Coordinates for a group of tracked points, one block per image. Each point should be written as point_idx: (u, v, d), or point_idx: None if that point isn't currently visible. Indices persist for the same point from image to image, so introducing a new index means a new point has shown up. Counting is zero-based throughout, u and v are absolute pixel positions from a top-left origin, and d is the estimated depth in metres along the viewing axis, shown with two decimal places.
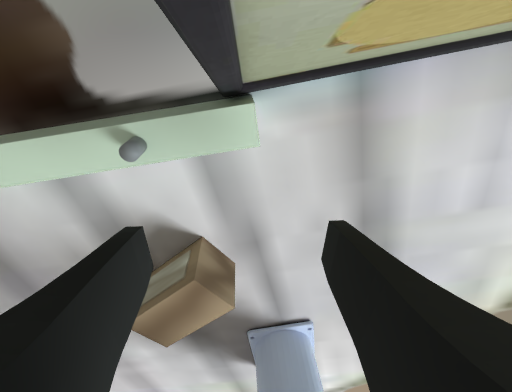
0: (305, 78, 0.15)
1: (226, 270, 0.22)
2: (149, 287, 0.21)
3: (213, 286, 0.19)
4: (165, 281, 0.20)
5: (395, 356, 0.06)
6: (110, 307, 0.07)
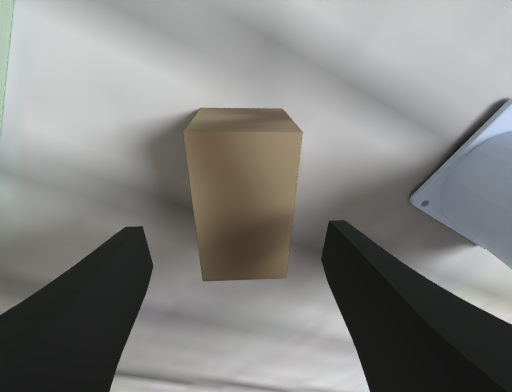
0: None
1: (264, 114, 0.12)
2: None
3: (235, 128, 0.10)
4: None
5: (395, 356, 0.06)
6: (110, 307, 0.07)
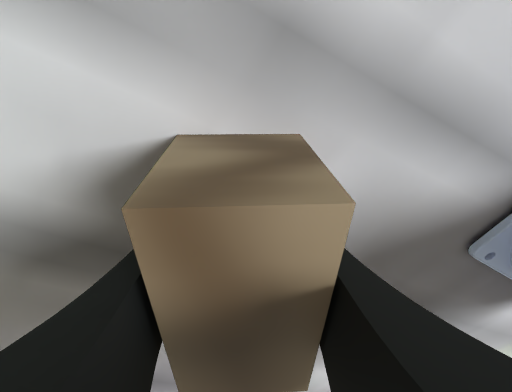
0: None
1: (275, 150, 0.07)
2: None
3: (227, 190, 0.05)
4: None
5: (349, 359, 0.06)
6: None
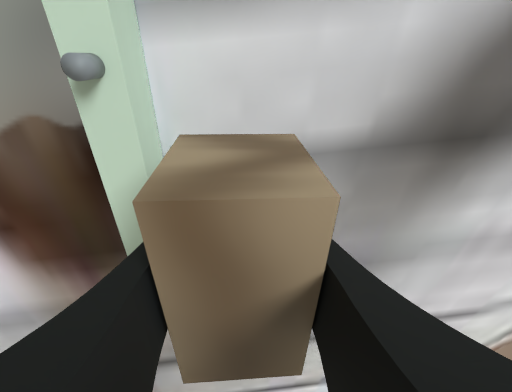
0: None
1: (270, 149, 0.08)
2: None
3: (226, 186, 0.06)
4: None
5: (346, 360, 0.06)
6: (153, 305, 0.07)
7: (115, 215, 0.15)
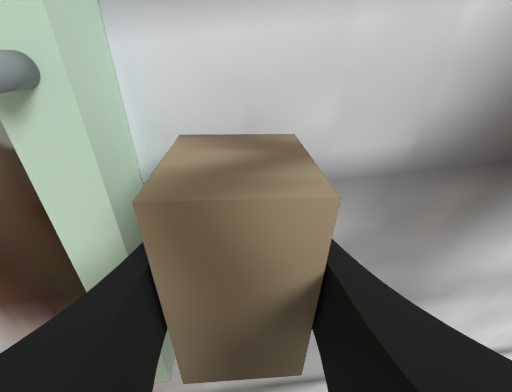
0: None
1: (270, 149, 0.08)
2: None
3: (226, 186, 0.06)
4: None
5: (346, 359, 0.06)
6: (153, 305, 0.07)
7: (76, 266, 0.11)
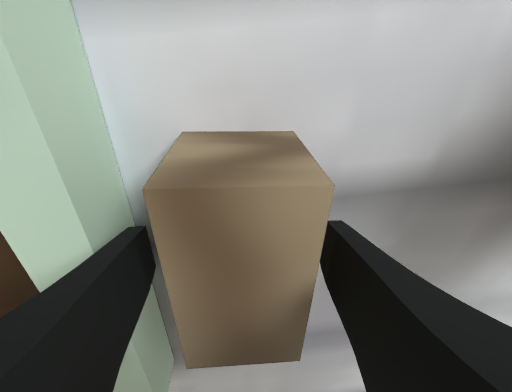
0: None
1: (270, 144, 0.08)
2: None
3: (228, 176, 0.06)
4: None
5: (391, 356, 0.06)
6: (114, 307, 0.07)
7: None
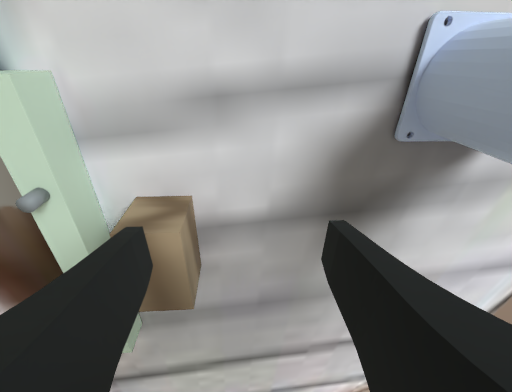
0: None
1: (172, 207, 0.19)
2: None
3: (143, 227, 0.16)
4: None
5: (395, 356, 0.06)
6: (110, 307, 0.07)
7: None
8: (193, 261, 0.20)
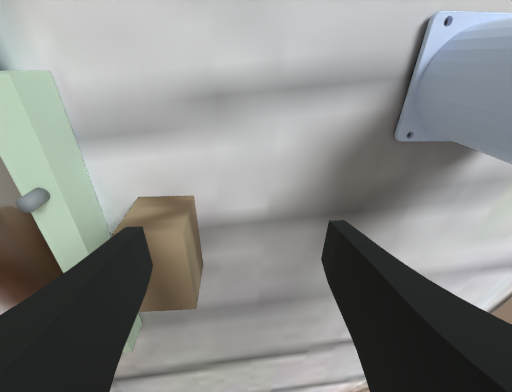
0: None
1: (175, 206, 0.19)
2: None
3: (146, 227, 0.16)
4: None
5: (395, 356, 0.06)
6: (110, 307, 0.07)
7: None
8: (195, 261, 0.20)
